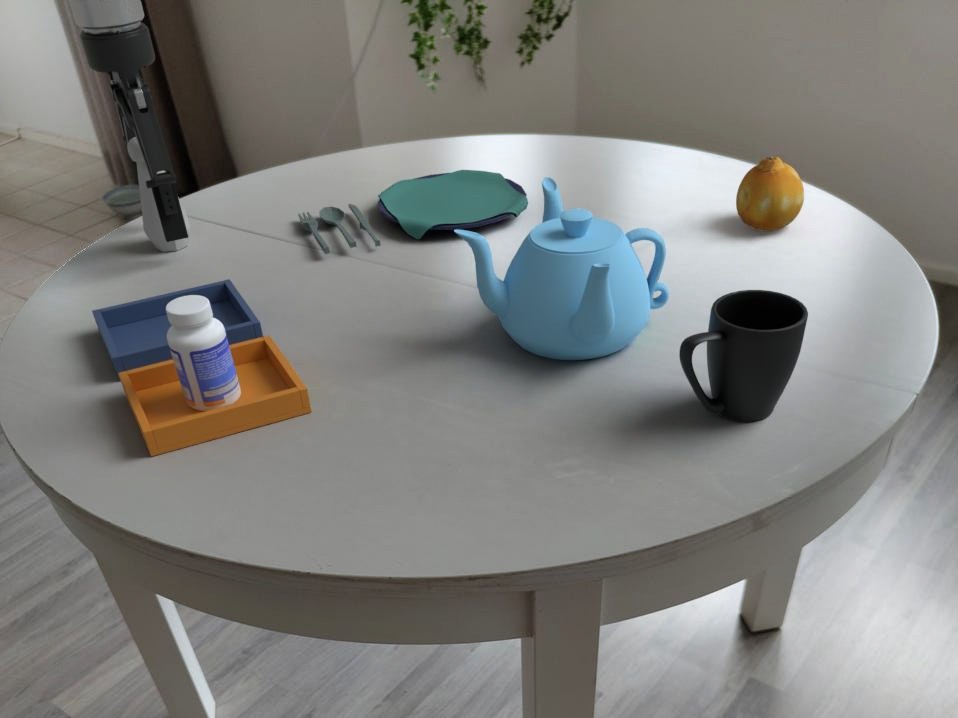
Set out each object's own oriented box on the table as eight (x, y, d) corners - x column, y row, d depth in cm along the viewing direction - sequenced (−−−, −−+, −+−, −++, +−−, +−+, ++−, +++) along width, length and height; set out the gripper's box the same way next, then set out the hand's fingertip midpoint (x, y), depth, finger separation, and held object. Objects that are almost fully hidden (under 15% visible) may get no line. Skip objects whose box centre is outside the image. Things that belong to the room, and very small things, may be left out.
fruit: (711, 203, 118) (749, 150, 111) (751, 191, 122) (790, 140, 115) (750, 253, 117) (790, 203, 110) (788, 240, 121) (830, 191, 114)
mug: (647, 409, 88) (656, 312, 82) (750, 376, 92) (767, 281, 85) (699, 451, 83) (713, 351, 76) (806, 414, 86) (829, 316, 80)
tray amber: (151, 456, 86) (142, 432, 84) (125, 396, 95) (117, 372, 93) (311, 412, 91) (307, 388, 89) (274, 357, 99) (269, 334, 97)
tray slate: (119, 381, 97) (111, 358, 95) (99, 332, 105) (91, 310, 103) (265, 344, 101) (260, 321, 99) (234, 300, 110) (229, 278, 108)
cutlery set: (549, 225, 122) (549, 207, 120) (324, 267, 115) (321, 248, 114) (496, 177, 135) (495, 160, 133) (292, 212, 129) (289, 195, 127)
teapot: (455, 348, 99) (447, 229, 90) (545, 281, 110) (546, 169, 101) (600, 388, 92) (606, 263, 83) (681, 312, 102) (694, 194, 94)
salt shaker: (142, 254, 121) (110, 145, 112) (160, 236, 125) (130, 129, 116) (184, 255, 120) (155, 145, 111) (201, 237, 124) (174, 129, 115)
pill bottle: (250, 387, 94) (227, 292, 87) (228, 415, 90) (202, 319, 83) (200, 383, 95) (174, 289, 88) (176, 410, 91) (147, 315, 84)
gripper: (169, 41, 98) (218, 248, 113) (126, 2, 114) (174, 187, 129) (96, 53, 96) (156, 261, 111) (62, 11, 112) (119, 198, 127)
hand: (166, 222), depth 120 cm, fingers open, 12 cm apart
